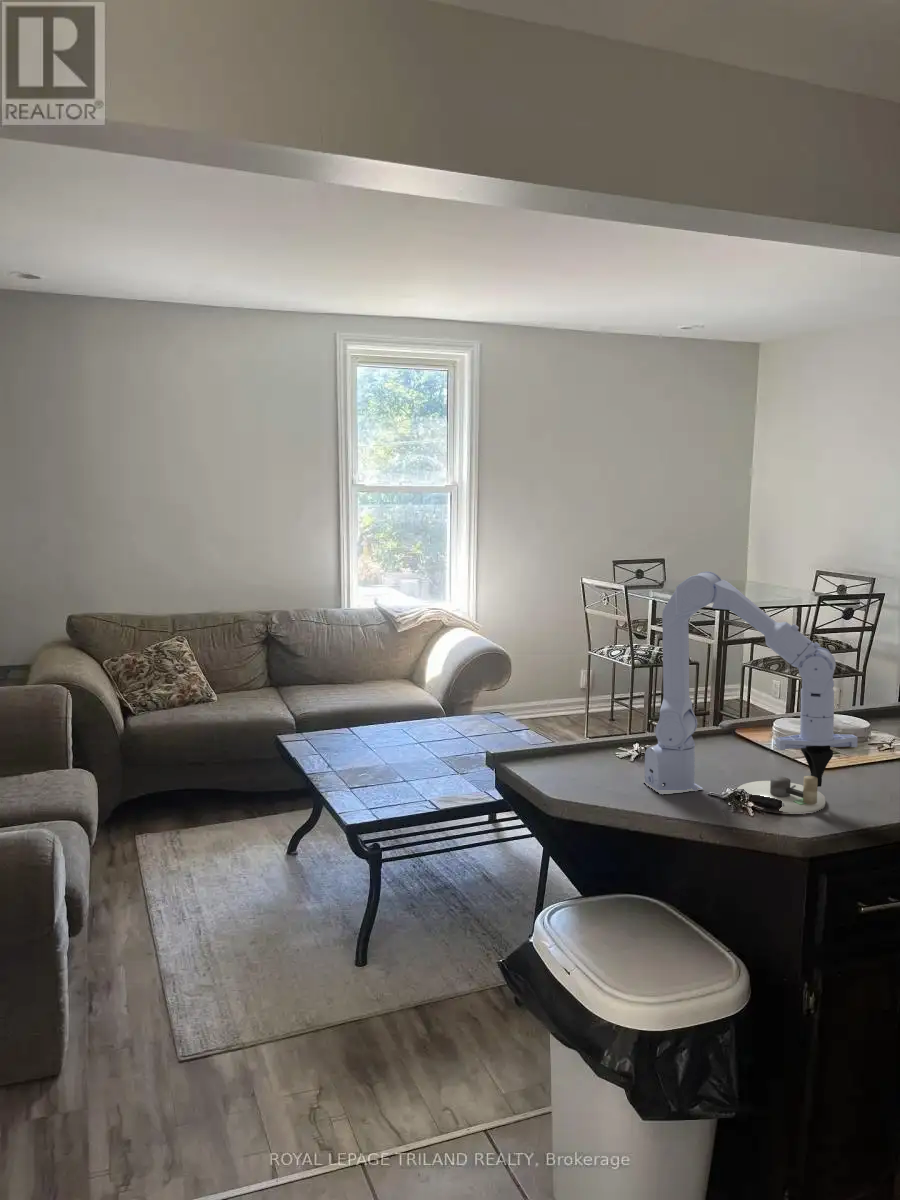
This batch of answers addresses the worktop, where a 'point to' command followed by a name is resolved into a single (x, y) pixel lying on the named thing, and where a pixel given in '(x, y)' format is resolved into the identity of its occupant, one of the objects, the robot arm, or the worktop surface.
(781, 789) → the crank handle
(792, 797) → the dial plate
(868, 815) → the worktop surface
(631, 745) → the worktop surface
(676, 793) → the worktop surface
